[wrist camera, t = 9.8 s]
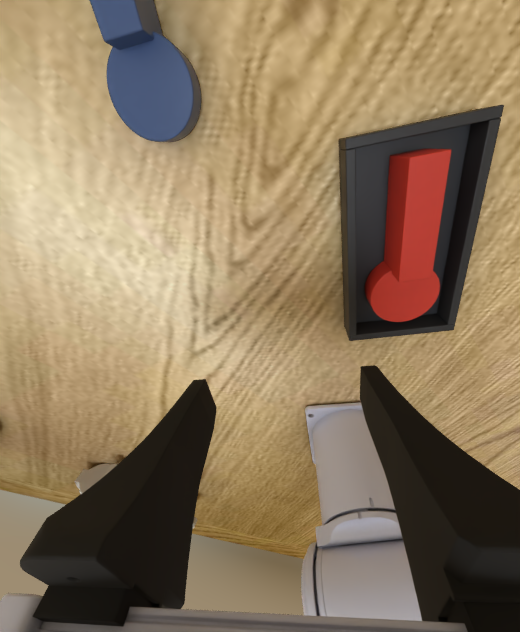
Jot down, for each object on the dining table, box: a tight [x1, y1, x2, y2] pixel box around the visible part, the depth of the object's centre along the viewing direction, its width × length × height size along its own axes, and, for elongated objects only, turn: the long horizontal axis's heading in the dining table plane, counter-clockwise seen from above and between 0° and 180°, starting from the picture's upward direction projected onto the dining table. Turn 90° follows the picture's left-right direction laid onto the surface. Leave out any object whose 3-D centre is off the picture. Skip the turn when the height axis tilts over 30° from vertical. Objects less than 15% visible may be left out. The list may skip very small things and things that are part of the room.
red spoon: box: [365, 148, 451, 322], centre depth 16 cm, size 10×4×3 cm, turn 11°
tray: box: [339, 105, 504, 341], centre depth 17 cm, size 13×7×2 cm, turn 11°
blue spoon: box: [90, 0, 201, 142], centre depth 12 cm, size 10×4×3 cm, turn 11°
